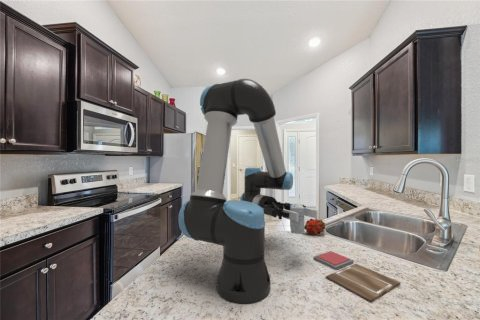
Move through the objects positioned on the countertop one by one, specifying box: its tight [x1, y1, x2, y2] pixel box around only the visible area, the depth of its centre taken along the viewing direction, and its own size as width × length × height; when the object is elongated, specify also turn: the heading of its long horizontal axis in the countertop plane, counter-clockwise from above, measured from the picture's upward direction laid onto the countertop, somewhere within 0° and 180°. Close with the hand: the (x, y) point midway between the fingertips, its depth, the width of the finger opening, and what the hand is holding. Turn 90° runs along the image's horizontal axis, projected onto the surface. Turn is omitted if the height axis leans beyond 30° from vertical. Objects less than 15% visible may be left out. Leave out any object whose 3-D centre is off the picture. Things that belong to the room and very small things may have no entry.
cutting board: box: [325, 263, 401, 303], centre depth 62 cm, size 16×13×1 cm
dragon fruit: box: [304, 217, 326, 237], centre depth 104 cm, size 8×8×12 cm
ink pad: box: [312, 250, 354, 271], centre depth 75 cm, size 10×9×1 cm
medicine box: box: [289, 203, 305, 235], centre depth 73 cm, size 8×4×9 cm, turn 168°
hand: (307, 215), depth 69 cm, fingers closed on medicine box, 8 cm apart
